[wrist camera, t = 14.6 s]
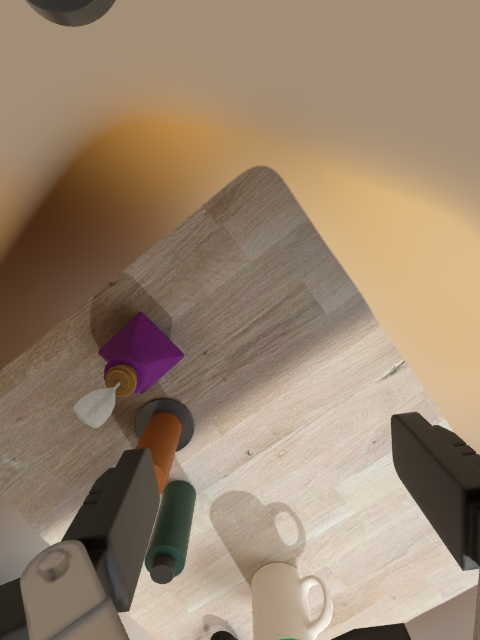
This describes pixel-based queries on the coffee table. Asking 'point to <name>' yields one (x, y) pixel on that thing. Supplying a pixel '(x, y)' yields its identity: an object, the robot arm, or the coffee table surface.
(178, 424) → the amber bottle
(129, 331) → the perfume bottle
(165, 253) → the coffee table surface
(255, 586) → the mug
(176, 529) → the green bottle
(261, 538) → the coffee table surface
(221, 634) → the watch
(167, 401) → the slate coaster
